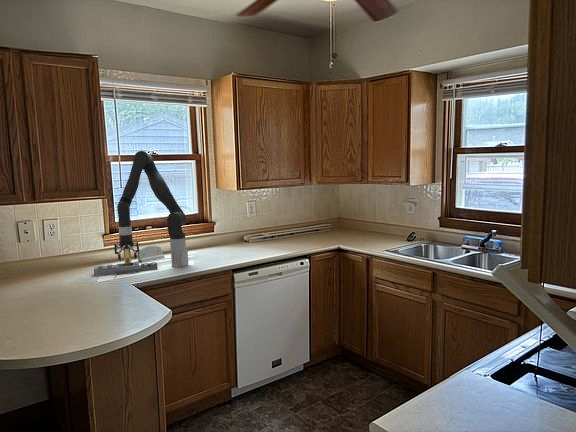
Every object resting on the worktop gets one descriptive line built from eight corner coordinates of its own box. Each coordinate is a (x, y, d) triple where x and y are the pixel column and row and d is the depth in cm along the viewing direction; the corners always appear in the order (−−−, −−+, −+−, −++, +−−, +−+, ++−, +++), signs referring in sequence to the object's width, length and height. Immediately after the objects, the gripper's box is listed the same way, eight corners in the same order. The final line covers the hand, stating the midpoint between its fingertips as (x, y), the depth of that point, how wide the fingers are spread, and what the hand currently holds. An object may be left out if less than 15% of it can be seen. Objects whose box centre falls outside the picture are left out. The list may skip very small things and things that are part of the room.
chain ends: (157, 266, 269) (156, 258, 268) (158, 269, 259) (157, 261, 258) (95, 272, 257) (94, 264, 256) (94, 277, 247) (93, 268, 247)
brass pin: (133, 266, 270) (131, 247, 268) (128, 268, 266) (126, 248, 264) (128, 266, 271) (126, 247, 270) (123, 267, 268) (121, 248, 266)
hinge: (141, 262, 280) (138, 247, 281) (138, 264, 283) (135, 249, 285) (165, 258, 291) (161, 243, 293) (162, 259, 295) (158, 245, 296)
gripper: (137, 231, 272) (139, 257, 274) (113, 233, 267) (115, 259, 269) (138, 233, 265) (140, 259, 267) (112, 235, 260) (115, 262, 262)
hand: (127, 259), depth 268 cm, fingers open, 8 cm apart
